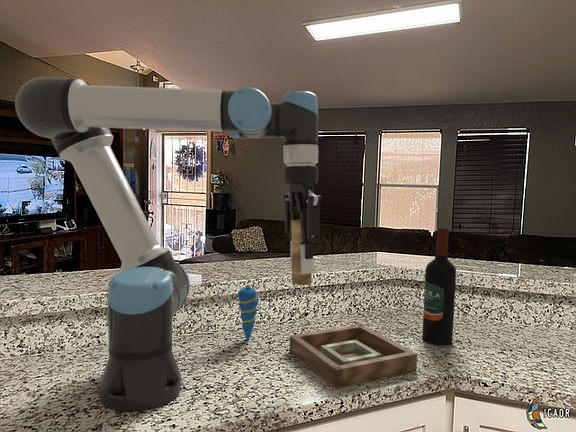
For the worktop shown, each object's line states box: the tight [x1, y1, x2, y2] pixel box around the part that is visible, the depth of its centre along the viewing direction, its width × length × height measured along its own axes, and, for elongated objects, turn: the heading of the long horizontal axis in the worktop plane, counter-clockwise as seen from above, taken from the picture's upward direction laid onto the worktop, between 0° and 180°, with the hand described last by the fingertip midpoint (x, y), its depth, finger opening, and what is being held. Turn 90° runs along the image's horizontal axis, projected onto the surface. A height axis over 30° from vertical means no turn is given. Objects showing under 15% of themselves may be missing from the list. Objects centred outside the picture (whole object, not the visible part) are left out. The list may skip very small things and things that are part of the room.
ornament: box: [237, 284, 259, 341], centre depth 115 cm, size 5×5×15 cm
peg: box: [291, 219, 313, 286], centre depth 99 cm, size 4×4×14 cm
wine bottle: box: [421, 226, 457, 347], centre depth 117 cm, size 8×8×30 cm
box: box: [289, 324, 418, 390], centre depth 104 cm, size 21×21×4 cm
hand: (301, 270), depth 99 cm, fingers closed on peg, 4 cm apart
